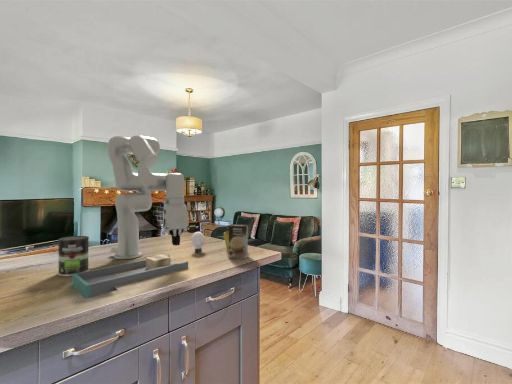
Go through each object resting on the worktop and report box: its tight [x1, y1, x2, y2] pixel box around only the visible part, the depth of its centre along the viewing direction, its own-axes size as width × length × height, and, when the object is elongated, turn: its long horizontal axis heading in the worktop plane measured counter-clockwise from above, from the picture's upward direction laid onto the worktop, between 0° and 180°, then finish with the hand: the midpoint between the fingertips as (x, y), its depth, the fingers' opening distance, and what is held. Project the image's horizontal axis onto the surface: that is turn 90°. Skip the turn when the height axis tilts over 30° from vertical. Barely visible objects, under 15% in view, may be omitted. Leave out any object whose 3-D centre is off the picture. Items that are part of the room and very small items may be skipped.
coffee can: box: [57, 235, 90, 277], centre depth 109 cm, size 10×10×14 cm
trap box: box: [71, 254, 189, 299], centre depth 103 cm, size 37×16×4 cm, turn 137°
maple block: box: [145, 254, 172, 270], centre depth 110 cm, size 7×7×4 cm
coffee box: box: [227, 223, 249, 260], centre depth 133 cm, size 9×6×16 cm
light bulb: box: [191, 231, 205, 254], centre depth 143 cm, size 7×7×11 cm
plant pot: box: [223, 231, 229, 252], centre depth 148 cm, size 10×10×10 cm
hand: (176, 244), depth 115 cm, fingers closed
